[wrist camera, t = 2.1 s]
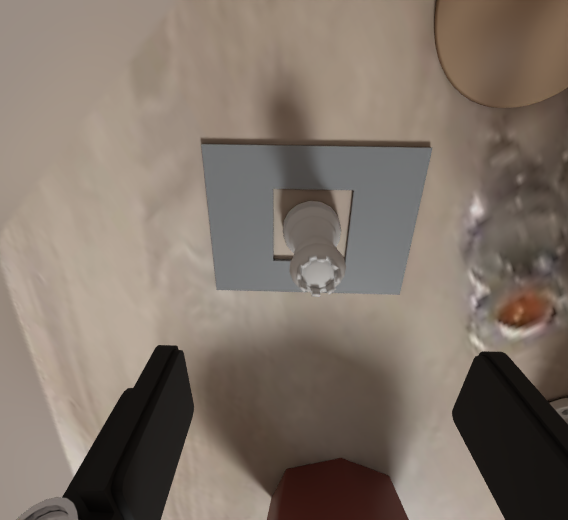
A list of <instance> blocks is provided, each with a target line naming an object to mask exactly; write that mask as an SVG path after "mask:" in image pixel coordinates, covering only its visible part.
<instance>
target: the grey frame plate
mask: <svg viewBox="0 0 568 520" xmlns="http://www.w3.org/2000/svg"><path fill="white" fill-rule="evenodd" d="M201 147H202V156H203V165H204V175H205V184H206V194H207V203H208V212H209V222H210V231H211V240H212V250H213V259H214V269H215V278H216V287H217V290H243V291H281V292H303V291H302V290H301V289H300V288H299V287H298V286H297V285H296V284H295V283H294V282H293V281H292V278H291V275H290V272H289V270H290V262H291V260H285V259H273V189H318V190H353V198H352V206H351V215H350V223H349V232H348V240H347V249H346V257H345V264H346V270H345V275H344V277H343V279H342V280H341V283H339V285H337V286H336V287H335V288H336V290H335V291H334V292H332V293H358V294H396V295H400V291H401V286H402V282H403V277H404V273H405V268H406V264H407V259H408V255H409V250H410V246H411V242H412V237H413V233H414V228H415V224H416V219H417V215H418V210H419V206H420V201H421V197H422V192H423V188H424V183H425V179H426V174H427V170H428V165H429V161H430V157H431V152H432V148H431V147H368V146H304V145H241V144H201ZM305 292H307V291H305ZM322 293H328V292H327V291H326V292H322Z"/></svg>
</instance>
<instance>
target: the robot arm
mask: <svg viewBox="0 0 568 520" xmlns="http://www.w3.org/2000/svg"><path fill="white" fill-rule="evenodd" d="M193 412H194V403H193V398H192V393H191V388H190V383H189V378H188V373H187V367H186V362H185V357H184V353H183V351H182V350H178V347H177V346H171V345H158V346H157V347H156V348H155V350H154V352H153V353H152V355H151V357H150V359H149V361H148V362H147V364H146V366H145V368H144V370H143V371H142V373H141V375H140V377H139V379H138V381H137V382H136V384H135V386H134V388H128V389H127V390H125V391H124V392H123V394H122V395H121V397H120V398H119V400H118V402H117V404H116V405H115V407H114V409H113V411H112V412H111V414H110V416H109V417H108V419H107V421H106V423H105V424H104V426H103V428H102V429H101V431H100V433H99V435H98V436H97V438H96V440H95V442H94V443H93V445H92V447H91V448H90V450H89V452H88V454H87V455H86V457H85V459H84V461H83V462H82V464H81V466H80V467H79V469H78V471H77V473H76V474H75V476H74V478H73V480H72V481H71V483H70V485H69V487H68V488H67V490H66V492H65V493H64V495H63V497H62V498H61V497H55V498H51V499H46V500H44V501H42V502H40V503H38V504H36V505H34V506H32V507H31V508H30V509H28V510H27V511H26V512H24V513H23V514H21V515H20V516H19V517H18V518H17V519H16V520H161V517H162V513H163V510H164V507H165V504H166V501H167V497H168V494H169V491H170V488H171V484H172V481H173V478H174V475H175V472H176V468H177V465H178V462H179V459H180V455H181V452H182V449H183V446H184V443H185V439H186V436H187V433H188V430H189V426H190V423H191V420H192V417H193ZM452 416H453V420H454V423H455V425H456V427H457V429H458V430H459V432H460V434H461V436H462V438H463V440H464V442H465V444H466V446H467V448H468V450H469V451H470V453H471V455H472V457H473V459H474V461H475V463H476V465H477V467H478V469H479V471H480V472H481V474H482V476H483V478H484V480H485V482H486V484H487V486H488V488H489V490H490V492H491V493H492V495H493V497H494V499H495V501H496V503H497V505H498V507H499V509H500V511H501V513H502V514H503V516H504V518H505V520H568V398H563V399H559V400H556V401H552V402H548V401H547V400H546V399H545V398H544V397H543V395H542V394H541V393H540V392H539V391H538V390H537V389H536V387H535V386H534V385H533V384H532V383H531V382H530V381H529V379H528V378H527V377H526V376H525V375H524V374H523V373H522V371H521V370H520V369H519V368H518V367H517V366H516V365H515V363H514V362H513V361H512V360H511V359H510V358H509V357H508V356H507V355H506V354H505V353H503V352H481V353H480V354H479V355H478V356H476V357H475V358H474V360H473V362H472V365H471V367H470V369H469V372H468V374H467V377H466V379H465V381H464V384H463V386H462V388H461V391H460V393H459V396H458V398H457V400H456V403H455V405H454V408H453V410H452Z"/></svg>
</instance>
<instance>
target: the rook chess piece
mask: <svg viewBox="0 0 568 520" xmlns="http://www.w3.org/2000/svg"><path fill="white" fill-rule="evenodd" d="M283 234H284V239H285V242H286V245H287V247H288V248H289V249H290V250H291V251H292V252H293V253H294V257H293V258H292V260H291V262H290V270H289V272H290V275H291V278H292V281H293V282H294V283H295V284H296V285H297V286H298V287H299V288H300V289H301V290H302V291H303V292H305V291H307V292H311V294H312V296H316V297H320V293H322V292H326V291H327V292H328V294H331V293H332V292H334V291H335V290H336V288H335V287H336V286H337V285H339V283H341V280H342V279H343V277H344V275H345V270H346V264H345V260H344V257H343V256H342V254H341V253H340V252H339V251H338V250H337V248H336V246H337V244H338V243H339V240H340V234H341V227H340V222H339V218H338V215H337V214H336V213H335V211H334V210H333V209H332V208H331V207H330V206H328V205H326V204H324V203H322V202H317V201H307V202H304V203H301V204H298V205H296V206H295V207H294V208H293V209H292V210H290V211H289V212H288V214H287V216H286V218H285V220H284V224H283Z"/></svg>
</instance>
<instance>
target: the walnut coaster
mask: <svg viewBox="0 0 568 520" xmlns="http://www.w3.org/2000/svg"><path fill="white" fill-rule="evenodd" d="M434 33H435V44H436V49H437V54H438V58H439V61H440V64H441V66H442V69H443V71H444V73H445V75H446V76H447V78H448V80H449V81H450V82H451V84H452V85H453V86H454V88H455V89H457V90H458V91H459V92H460V93H461V94H462V95H463V96H465V97H466V98H468V99H469V100H471V101H473V102H476V103H478V104H480V105H484V106H488V107H496V108H512V107H521V106H526V105H531V104H534V103H537V102H540V101H543V100H545V99H547V98H550V97H552V96H554V95H556V94H558V93H559V92H561V91H563V90H565V89H566V88H568V0H437V3H436V10H435V23H434Z"/></svg>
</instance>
